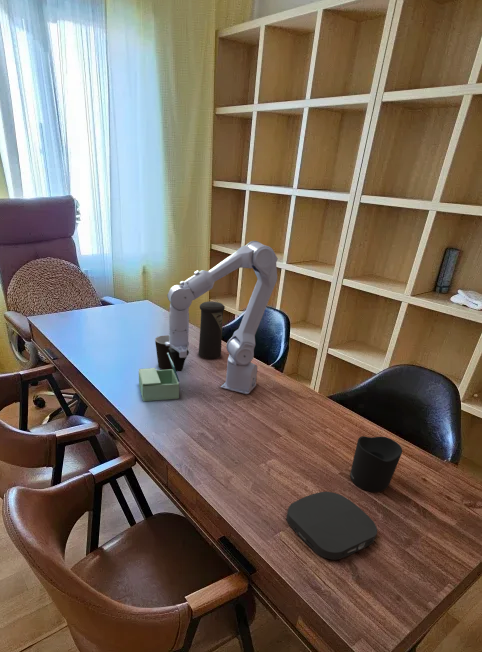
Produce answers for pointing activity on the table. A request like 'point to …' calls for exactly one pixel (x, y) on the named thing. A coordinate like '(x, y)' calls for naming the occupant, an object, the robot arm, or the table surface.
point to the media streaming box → (331, 524)
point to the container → (211, 330)
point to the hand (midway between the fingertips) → (178, 370)
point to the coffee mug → (163, 352)
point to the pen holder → (374, 463)
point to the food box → (158, 384)
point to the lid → (173, 367)
